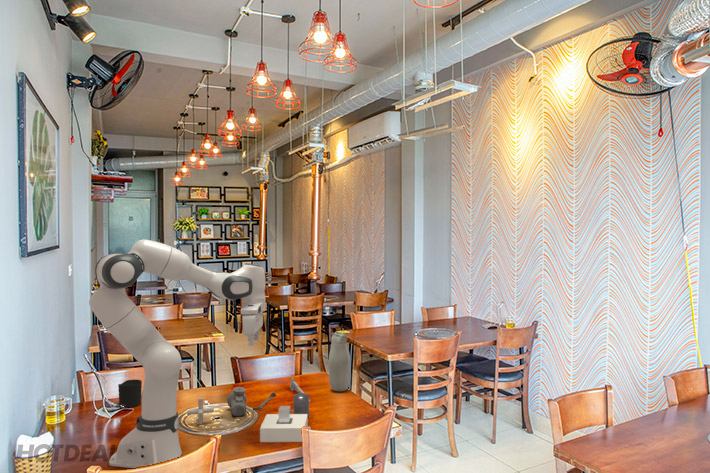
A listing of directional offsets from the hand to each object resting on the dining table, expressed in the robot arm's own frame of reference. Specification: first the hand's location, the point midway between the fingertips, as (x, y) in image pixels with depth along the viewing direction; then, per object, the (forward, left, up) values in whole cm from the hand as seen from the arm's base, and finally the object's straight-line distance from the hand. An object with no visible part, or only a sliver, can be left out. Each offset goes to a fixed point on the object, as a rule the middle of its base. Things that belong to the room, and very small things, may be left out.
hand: (253, 342), depth 184 cm
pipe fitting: (-11, +21, -34) cm, 42 cm away
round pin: (+16, +15, -34) cm, 41 cm away
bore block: (+12, -2, -34) cm, 36 cm away
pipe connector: (-23, +9, -34) cm, 42 cm away
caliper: (+13, +43, -35) cm, 56 cm away
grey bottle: (+31, +50, -34) cm, 68 cm away
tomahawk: (0, +34, -35) cm, 48 cm away
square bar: (+12, -2, -34) cm, 36 cm away
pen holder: (-61, +31, -34) cm, 77 cm away
